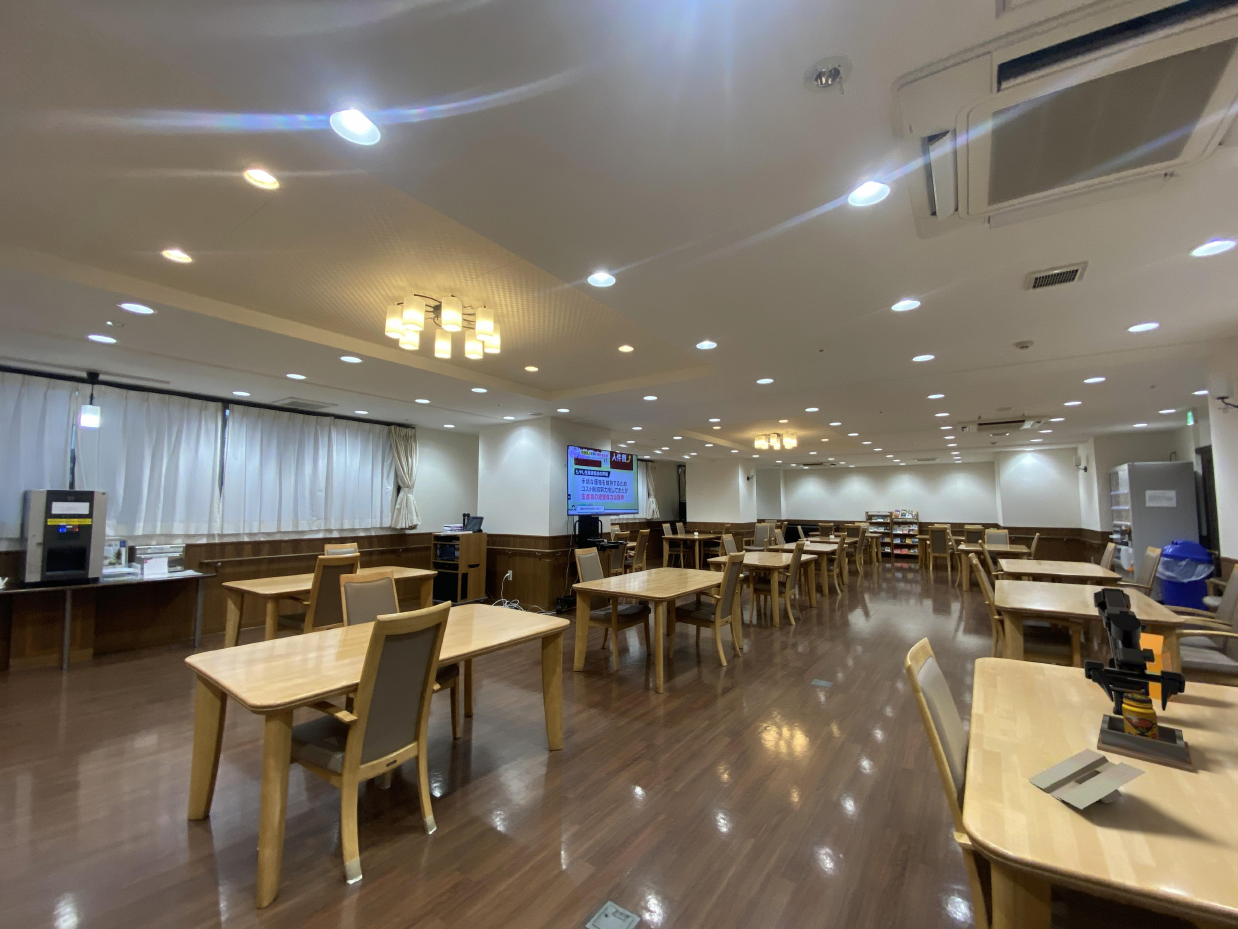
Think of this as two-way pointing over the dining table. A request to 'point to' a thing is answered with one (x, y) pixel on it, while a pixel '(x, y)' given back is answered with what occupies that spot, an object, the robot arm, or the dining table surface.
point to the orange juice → (1156, 661)
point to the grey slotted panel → (1086, 779)
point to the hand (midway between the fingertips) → (1137, 705)
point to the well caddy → (1145, 744)
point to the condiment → (1139, 716)
